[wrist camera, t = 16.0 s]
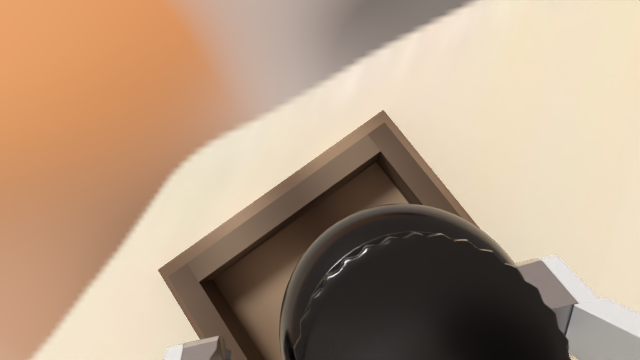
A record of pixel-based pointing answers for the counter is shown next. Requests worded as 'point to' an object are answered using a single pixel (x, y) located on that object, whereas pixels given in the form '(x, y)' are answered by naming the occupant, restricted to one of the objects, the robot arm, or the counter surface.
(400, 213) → the supplement bottle
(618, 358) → the robot arm
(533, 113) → the counter surface
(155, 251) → the counter surface
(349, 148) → the walnut tray
